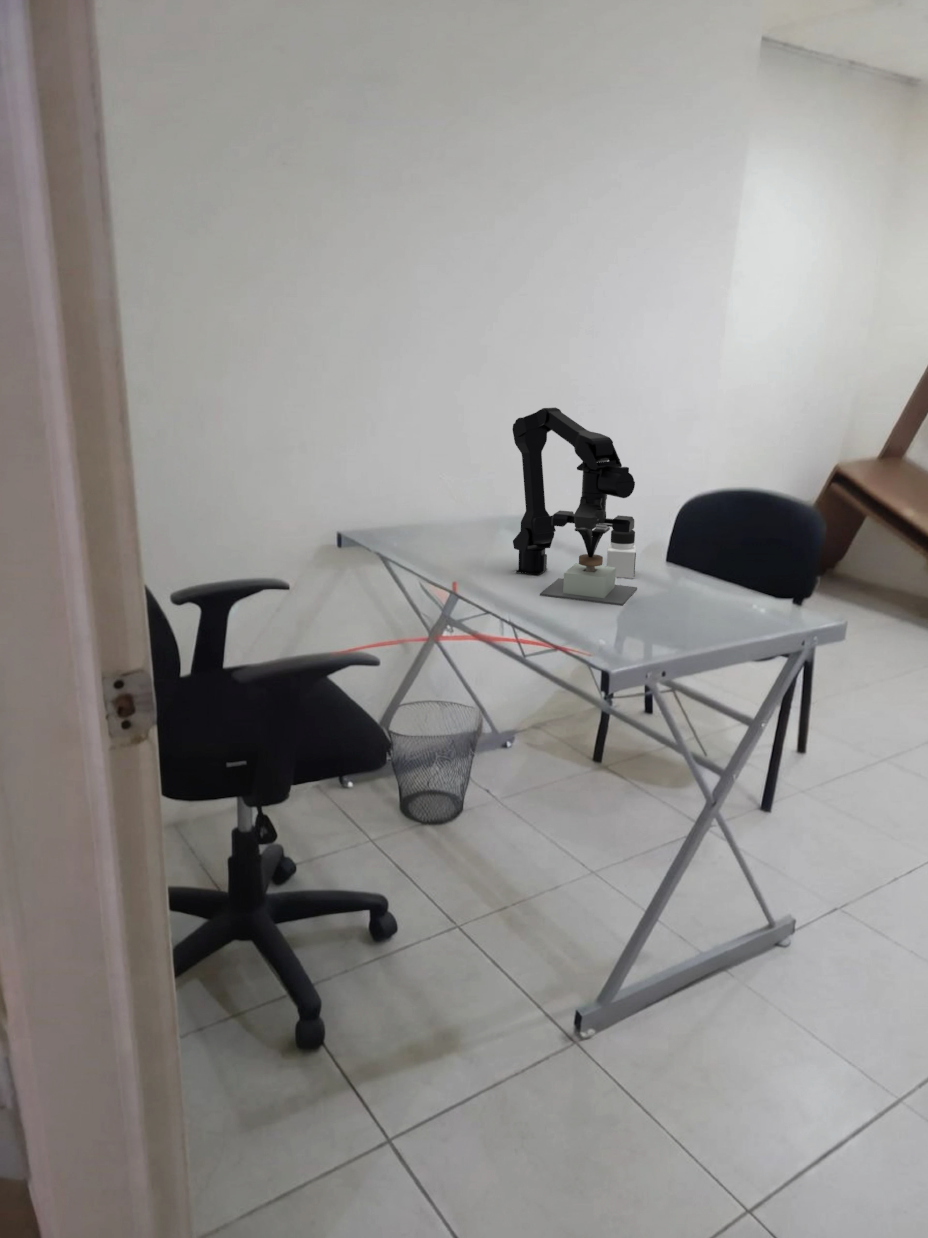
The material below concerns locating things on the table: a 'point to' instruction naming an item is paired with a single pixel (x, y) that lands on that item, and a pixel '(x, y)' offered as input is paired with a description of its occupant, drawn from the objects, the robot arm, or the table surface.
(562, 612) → the table surface
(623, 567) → the medicine bottle
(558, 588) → the press base
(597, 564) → the plunger
